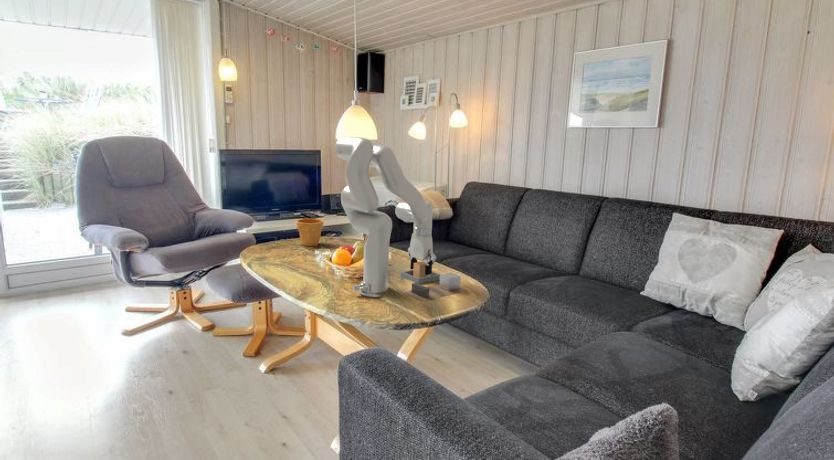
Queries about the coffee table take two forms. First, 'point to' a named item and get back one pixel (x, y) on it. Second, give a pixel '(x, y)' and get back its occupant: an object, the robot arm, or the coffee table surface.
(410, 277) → the tray
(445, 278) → the grey cube block
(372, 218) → the robot arm
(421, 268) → the light orange block
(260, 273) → the coffee table surface
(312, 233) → the flower pot
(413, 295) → the slide board
